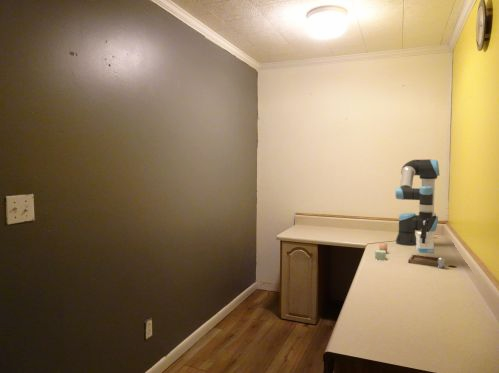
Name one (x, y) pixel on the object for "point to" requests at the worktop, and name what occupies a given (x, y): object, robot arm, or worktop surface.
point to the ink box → (428, 243)
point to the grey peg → (441, 262)
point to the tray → (423, 260)
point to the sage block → (380, 254)
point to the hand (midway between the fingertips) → (424, 246)
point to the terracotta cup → (383, 247)
